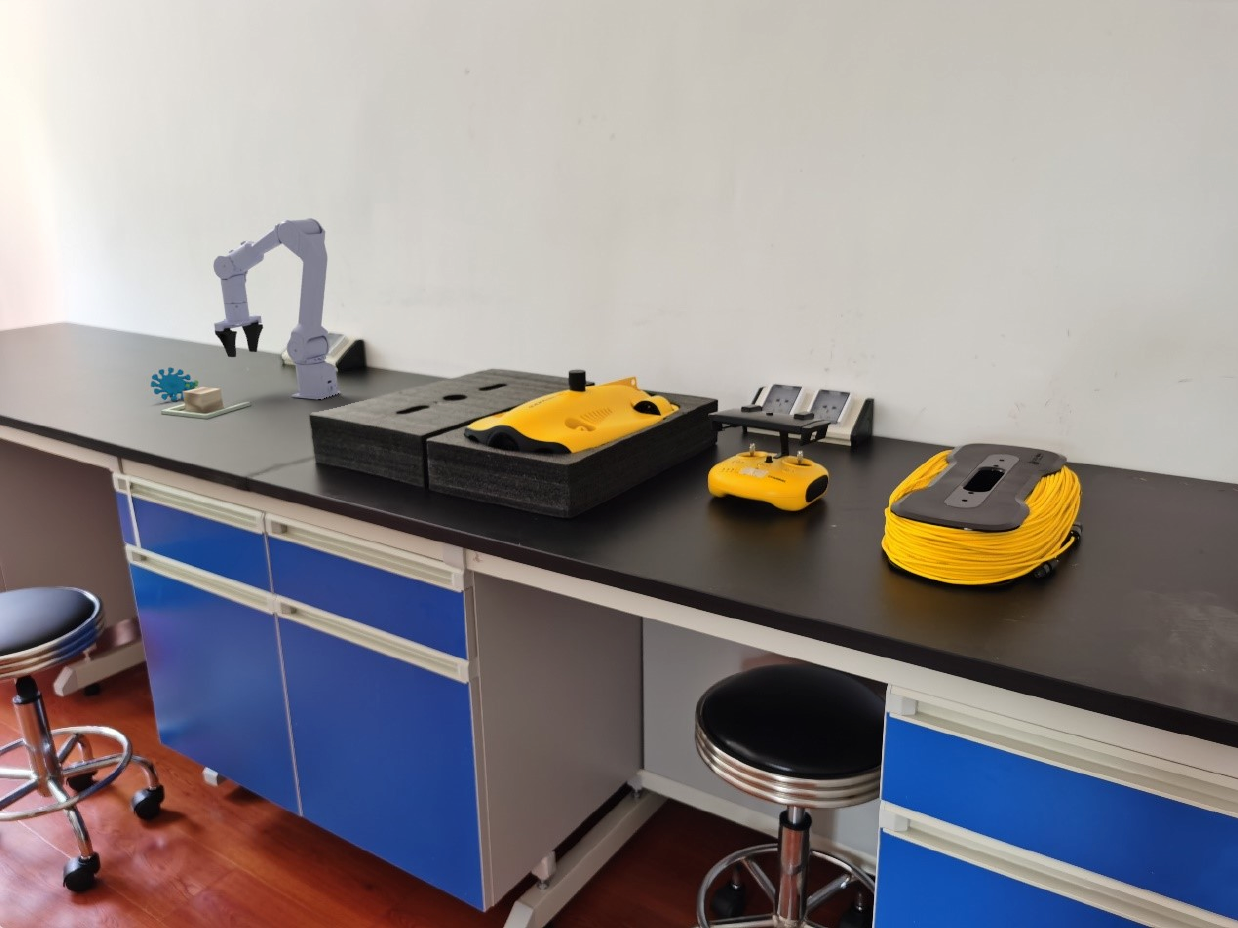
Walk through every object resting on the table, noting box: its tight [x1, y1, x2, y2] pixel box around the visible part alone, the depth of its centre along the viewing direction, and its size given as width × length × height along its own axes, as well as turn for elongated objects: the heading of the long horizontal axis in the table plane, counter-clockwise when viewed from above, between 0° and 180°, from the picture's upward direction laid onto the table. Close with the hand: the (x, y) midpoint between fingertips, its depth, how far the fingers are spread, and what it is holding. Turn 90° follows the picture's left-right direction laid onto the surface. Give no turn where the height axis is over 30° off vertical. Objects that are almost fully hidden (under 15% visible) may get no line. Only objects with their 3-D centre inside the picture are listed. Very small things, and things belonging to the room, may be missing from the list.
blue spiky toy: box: [150, 366, 199, 402], centre depth 233 cm, size 11×6×10 cm
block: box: [183, 386, 224, 414], centre depth 220 cm, size 6×6×5 cm
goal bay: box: [160, 401, 251, 420], centre depth 221 cm, size 14×14×1 cm
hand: (242, 354), depth 240 cm, fingers open, 7 cm apart
